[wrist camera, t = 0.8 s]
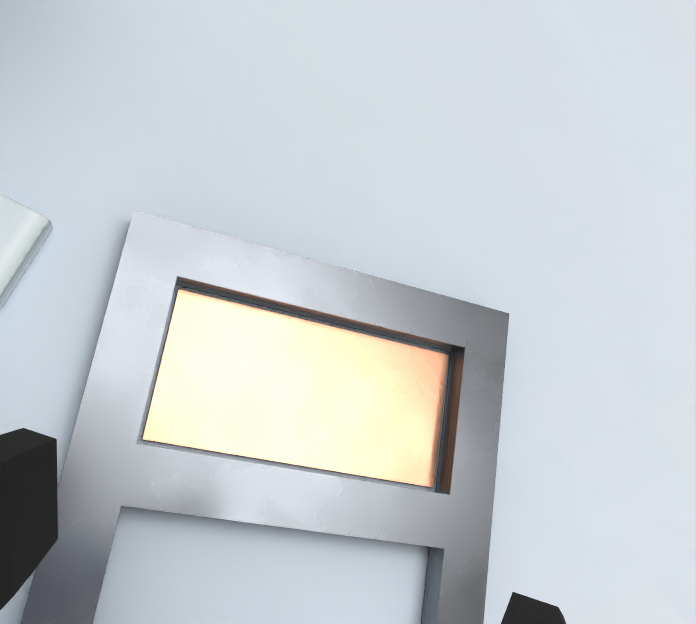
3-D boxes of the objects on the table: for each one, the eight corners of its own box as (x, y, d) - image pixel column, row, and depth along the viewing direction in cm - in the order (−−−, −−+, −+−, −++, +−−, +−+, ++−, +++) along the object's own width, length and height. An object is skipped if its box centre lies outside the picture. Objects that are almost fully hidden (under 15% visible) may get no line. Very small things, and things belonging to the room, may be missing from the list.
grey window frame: (427, 1045, 21) (445, 1078, 20) (-113, 1125, 16) (-130, 1174, 15) (493, 318, 28) (508, 313, 27) (132, 221, 23) (133, 209, 22)
